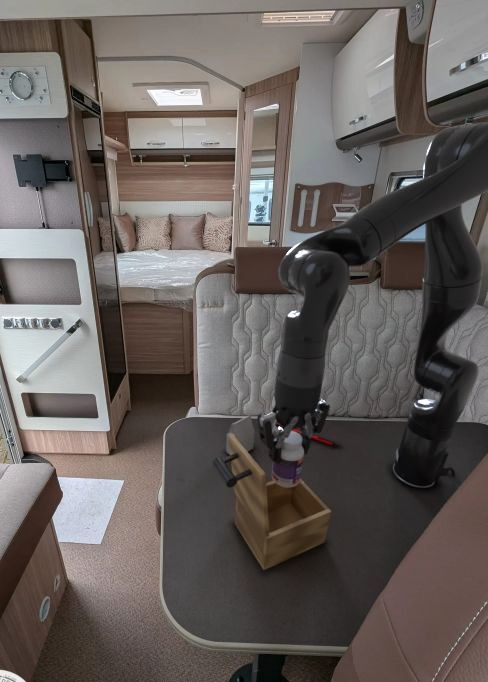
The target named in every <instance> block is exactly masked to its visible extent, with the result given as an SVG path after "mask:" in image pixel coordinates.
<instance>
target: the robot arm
mask: <svg viewBox="0 0 488 682" xmlns="http://www.w3.org/2000/svg"><path fill="white" fill-rule="evenodd" d="M423 163H424V164H423V171H422V179H419V180H418V181H415V182H413V183H410V184H407V185H405V186H403V187H400V188H398V189H395V190H393V191H391V192H388V193H386V194H384V195H381V196H380V197H378V198H376V199H375V200H373V201H371V202H370V203H368V204H367V205H365V206H364V207H362V208H361V209H359V210H358V211H357V212H355V213H354V214H352V215H351V216H350V217H348V218H346V220H344V221H343V222H341V223H340V224H338V225H335V226H334V227H331V228H328V229H326V230H324V231H322V232H319V233H317V234H315V235H313V236H310V237H309V238H306V239H304V240H303V241H301V242H299V243H297V244H296V245H294V246H293V247H291V249H289V250H288V252H287V253H286V254H285V255H284V257H282V260H281V261H280V264H279V267H278V280H279V282H280V284H281V286H282V287H283V288H284V289H285V290H287V291H288V292H290V293H292V294H294V295H297V296H300V297H302V298H303V303H302V305H301V309H297V310H293V311H291V312H288V313H287V314H286V316H285V317H284V320H283V323H282V330H281V338H280V340H281V341H280V349H279V352H278V353H279V354H278V357H277V363H276V374H275V382H274V393H273V397H274V407H273V408H272V411H271V412H269V413H268V414H266V415H265V414H264V413H261V412H260V413H259V414H258V415H257V417H256V418H257V427H258V433H259V434H258V435H259V440H260V441H261V442H262V443H263V445H264V446H265V447H266V448H267V449H268V453H267V454H268V458H269V459H270V460H271V462H272V463H273V462H275V464H277V463H280V459H281V451H282V447H281V446H282V444H283V442H284V440H285V438H288V437H289V435H290V433H291V431H292V430H293V429H295V430H296V429H299V431H301V433H299V434H300V435H301V437H302V447H303V449H304V456H305V455H307V454H308V451H309V450H310V447H311V442H312V437H313V436H315V434H320V433H322V431H323V429H324V426H325V423H326V420H327V417H328V414H329V411H330V409H331V406H330V404H329V403H327V401H325V400H323V399H322V398H321V394H322V387H323V383H324V377H325V370H326V353H327V347H328V341H329V335H330V330H331V327H332V325H333V323H334V320H335V319H336V318H337V317H336V316H337V314H338V312H339V310H340V308H341V306H342V304H343V302H344V299H345V297H346V296H347V292H348V289H349V286H350V281H351V271H350V268H357V267H362V266H365V265H367V264H369V263H371V262H373V260H375V259H376V258H377V257H379V256H380V255H382V254H383V253H384V252H386V251H387V250H389V249H390V248H391V247H392V246H394V245H395V244H396V243H398V242H399V241H401V240H402V239H403V238H405V237H406V236H408V235H409V234H411V233H413V232H414V231H415V230H417V229H419V228H420V227H422V226H425V227H424V228H425V232H424V233H425V234H424V235H425V239H424V265H423V275H422V287H421V288H422V289H421V313H420V314H421V316H420V327H419V335H418V342H417V347H416V352H415V357H414V363H413V379H414V381H415V382H416V384H418V385H419V386H420V387H422V388H424V389H426V390H428V391H430V392H432V393H434V394H436V395H438V396H439V399H436V398H420V399H417V400H415V401H414V402H413V403H412V405H411V408H410V412H409V415H408V418H407V421H406V423H405V424H406V425H405V428H404V431H403V435H402V438H401V441H400V444H399V447H398V448H396V451H395V456H396V457H395V460H394V463H393V466H392V473H393V475H394V476H395V477H396V479H397V480H398V481H399V482H401V483H403V484H405V485H407V486H408V487H411V488H415V489H420V490H426V489H430V488H432V487H433V486H434V484H438V483H439V480H440V478H441V477H447V476H448V474H449V471H450V472H451V476H452V477H453V478H454V477H456V471H455V470H454V468H453V467H451V466H449V465H448V464H446V461H447V459H448V456H449V454H450V452H449V450H448V446H449V444H450V441H451V439H452V435H453V433H454V430H455V427H456V425H457V422H458V420H459V419H460V417H461V415H462V414H463V412H464V410H465V407H466V404H467V402H468V400H469V398H470V396H471V394H472V393H473V392H472V391H473V389H474V387H475V386H476V383H477V381H478V377H479V365H478V364H477V363H476V362H475V361H473V360H471V359H469V358H466V357H463V356H460V355H458V354H456V353H453V352H450V351H448V350H447V348H446V341H447V336H448V333H449V332H450V331H451V330H452V329H453V328H454V327H455V326H456V325H457V324H458V323H459V322H460V321H462V320H463V319H464V318H465V317H466V316H468V315H469V313H471V311H472V310H473V309H474V308H475V306H476V305H477V303H478V301H479V298H480V294H481V289H482V288H481V287H482V280H483V274H484V263H483V259H482V256H481V253H480V250H479V249H478V247H477V245H476V243H475V241H474V239H473V237H472V235H471V233H470V231H469V229H468V227H467V225H466V223H465V219H464V216H463V210H462V209H463V208H462V206H463V204H465V203H467V202H470V201H471V200H473V199H475V198H477V197H479V196H481V195H483V194H485V193H487V192H488V121H484V122H475V123H468V124H461V125H455V126H449V127H446V128H443V129H442V130H439V132H438V133H437V134H435V135H434V137H433V138H432V140H431V142H430V143H429V145H428V147H427V150H426V154H425V158H424V162H423ZM280 425H281V426H282V427H283V428H284V429H282V428H281V427H280ZM277 436H278V437H277Z"/></svg>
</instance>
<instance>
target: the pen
mask: <svg viewBox="0 0 488 682" xmlns="http://www.w3.org/2000/svg"><path fill="white" fill-rule="evenodd" d="M280 427H281V428H282V429H283V430H284V428H283V427H282V426H281V425H280ZM292 431H294V432H296V433H298V434H299V433H301V431H300V430H298V429H296V428H295V429H293V430H292ZM311 440H316V441H317V442H321V443H324V444H327V445H329V446H335V447H339V444H336V443H335V441H332V440H329V439H326V438H323V437H320V436H315V435H314V436H313V437H312V438H311Z"/></svg>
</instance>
